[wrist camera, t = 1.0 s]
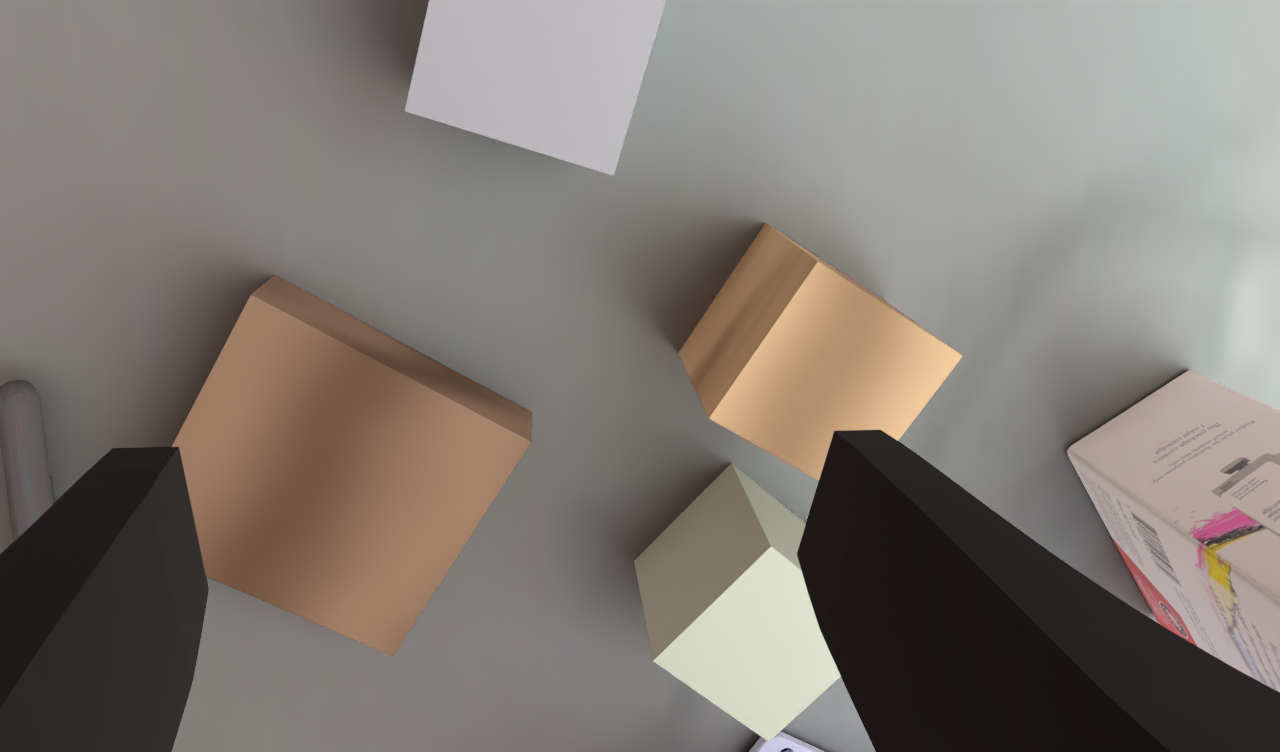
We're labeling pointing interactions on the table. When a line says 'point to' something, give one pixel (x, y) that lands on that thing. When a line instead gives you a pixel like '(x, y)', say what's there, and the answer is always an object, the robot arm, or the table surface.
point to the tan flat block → (340, 465)
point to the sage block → (736, 605)
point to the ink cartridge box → (1197, 514)
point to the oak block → (808, 355)
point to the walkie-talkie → (24, 455)
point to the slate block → (537, 72)
